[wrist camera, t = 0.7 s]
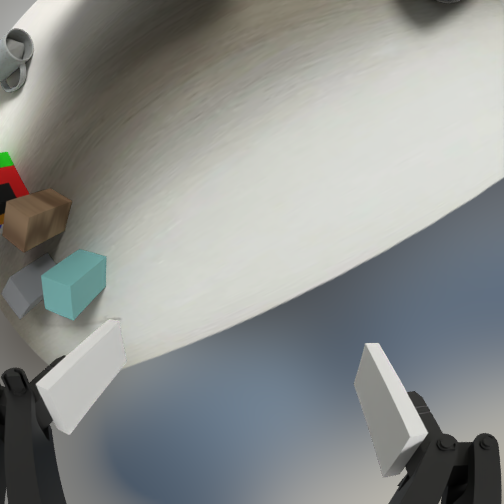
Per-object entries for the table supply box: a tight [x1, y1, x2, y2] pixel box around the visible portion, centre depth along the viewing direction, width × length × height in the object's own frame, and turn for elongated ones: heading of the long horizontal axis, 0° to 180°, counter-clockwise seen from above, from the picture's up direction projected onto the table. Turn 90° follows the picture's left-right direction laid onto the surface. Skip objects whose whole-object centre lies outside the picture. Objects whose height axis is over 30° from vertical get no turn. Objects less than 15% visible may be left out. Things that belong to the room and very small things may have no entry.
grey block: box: [1, 253, 56, 319], centre depth 33 cm, size 5×5×10 cm
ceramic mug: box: [0, 28, 34, 92], centre depth 22 cm, size 11×8×8 cm
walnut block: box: [2, 188, 72, 253], centre depth 30 cm, size 5×5×10 cm
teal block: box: [41, 249, 106, 321], centre depth 33 cm, size 5×5×10 cm
